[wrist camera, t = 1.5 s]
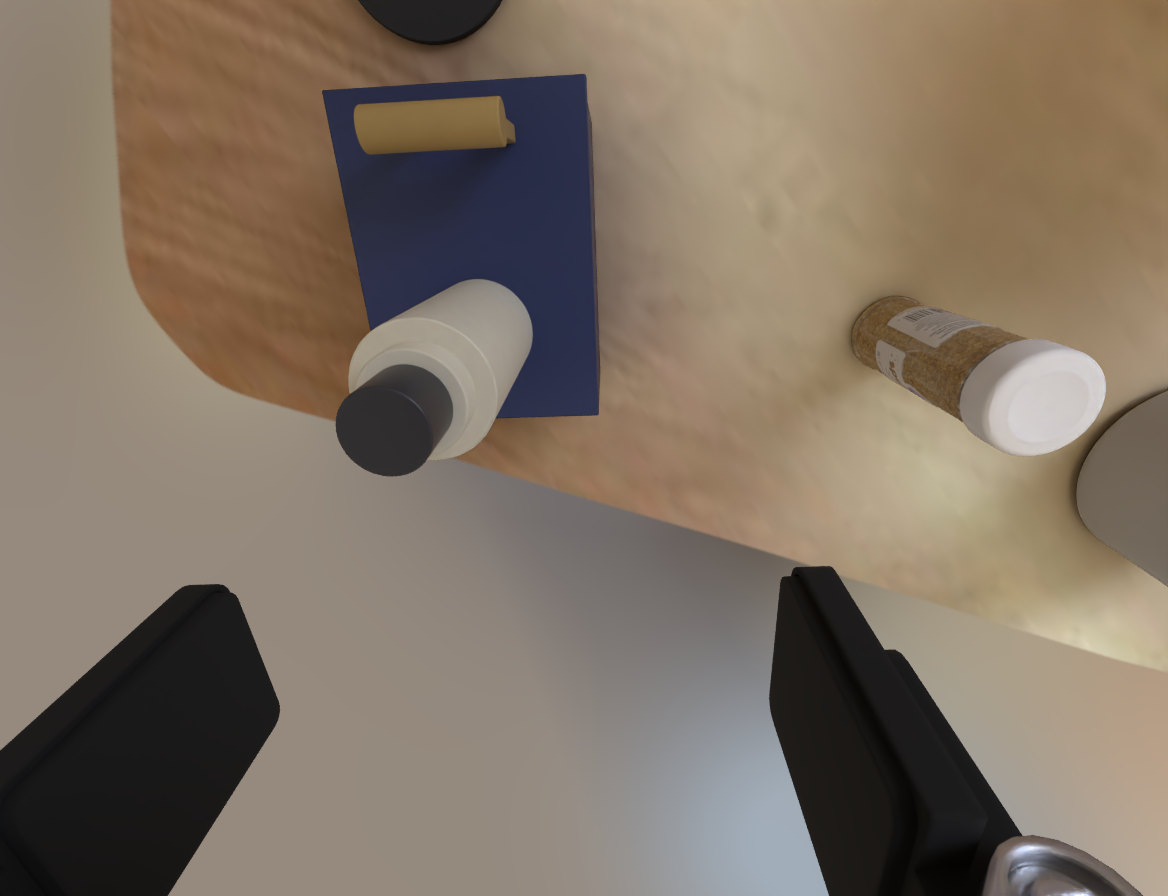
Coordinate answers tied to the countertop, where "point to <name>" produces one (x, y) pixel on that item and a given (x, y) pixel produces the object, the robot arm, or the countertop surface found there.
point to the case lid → (479, 212)
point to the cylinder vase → (1130, 487)
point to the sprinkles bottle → (983, 374)
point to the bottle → (433, 378)
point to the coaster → (431, 18)
